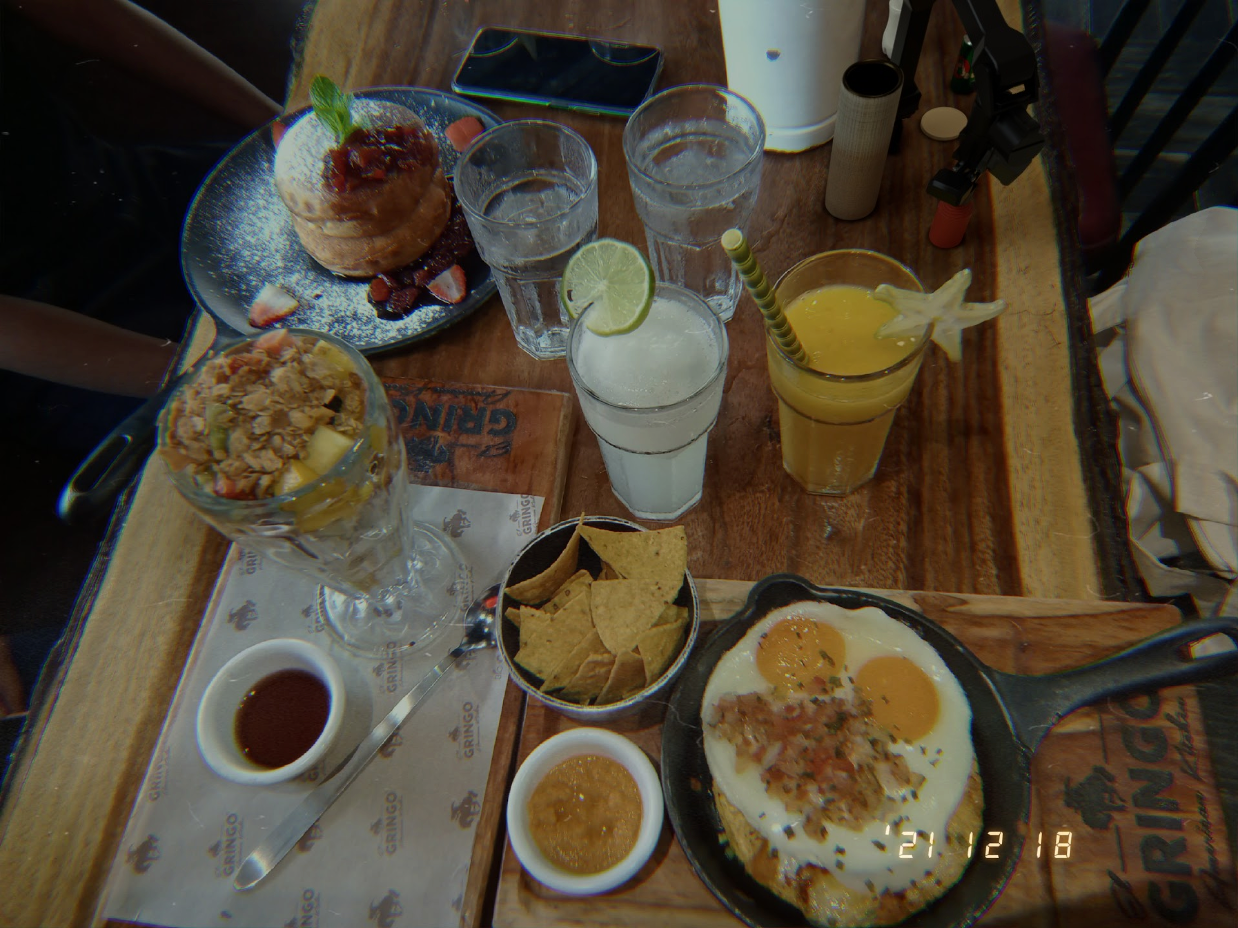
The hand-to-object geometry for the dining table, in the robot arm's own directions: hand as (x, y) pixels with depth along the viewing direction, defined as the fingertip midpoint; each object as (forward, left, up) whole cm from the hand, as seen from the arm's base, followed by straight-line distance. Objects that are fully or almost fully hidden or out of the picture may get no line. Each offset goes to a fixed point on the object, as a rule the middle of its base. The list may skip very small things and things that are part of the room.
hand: (959, 198), depth 131 cm
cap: (0, 0, +2) cm, 3 cm away
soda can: (+8, +41, -10) cm, 43 cm away
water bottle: (-4, +54, -10) cm, 55 cm away
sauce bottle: (0, 0, -9) cm, 9 cm away
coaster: (+3, +30, -10) cm, 32 cm away
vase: (-17, +10, -10) cm, 22 cm away
